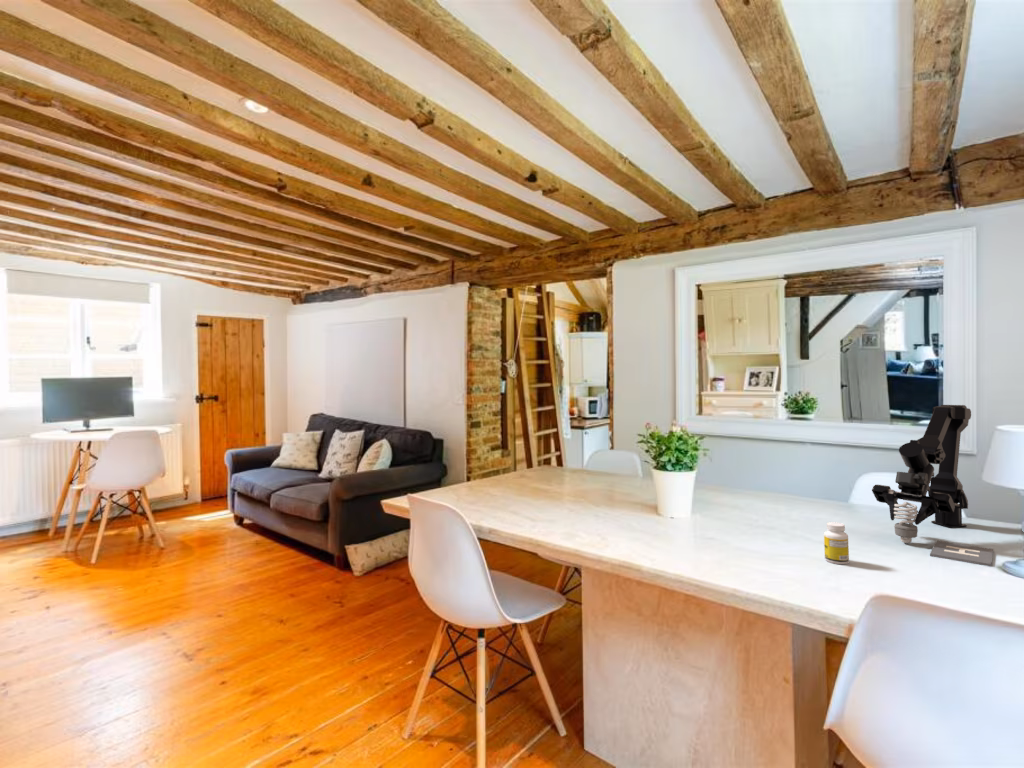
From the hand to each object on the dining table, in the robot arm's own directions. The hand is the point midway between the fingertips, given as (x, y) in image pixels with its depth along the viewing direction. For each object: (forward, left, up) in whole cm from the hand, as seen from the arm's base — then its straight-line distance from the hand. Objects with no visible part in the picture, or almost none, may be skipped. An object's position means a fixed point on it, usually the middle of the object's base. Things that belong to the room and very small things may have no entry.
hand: (903, 521), depth 148 cm
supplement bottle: (+29, +9, -7) cm, 31 cm away
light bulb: (-1, -1, -7) cm, 7 cm away
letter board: (-8, +9, -7) cm, 14 cm away
